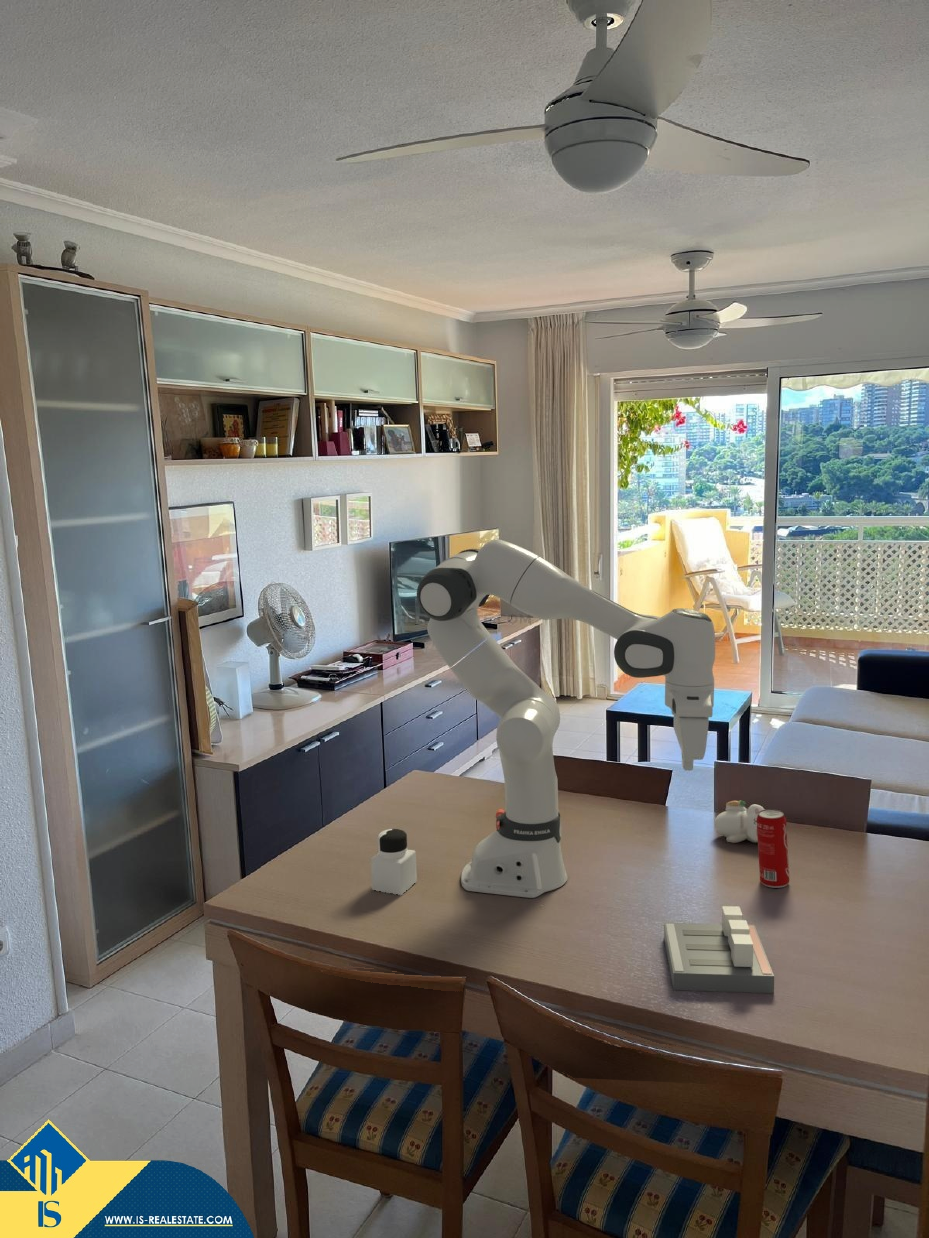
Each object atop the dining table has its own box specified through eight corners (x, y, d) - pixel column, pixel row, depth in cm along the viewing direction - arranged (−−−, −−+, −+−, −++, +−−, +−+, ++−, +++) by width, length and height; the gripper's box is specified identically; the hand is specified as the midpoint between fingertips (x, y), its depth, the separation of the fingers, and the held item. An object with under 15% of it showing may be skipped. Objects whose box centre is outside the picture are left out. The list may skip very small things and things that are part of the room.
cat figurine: (710, 798, 210) (778, 797, 204) (717, 805, 217) (783, 805, 211) (711, 840, 207) (780, 841, 200) (718, 846, 213) (785, 847, 207)
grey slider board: (673, 989, 150) (673, 972, 150) (664, 937, 167) (663, 922, 166) (774, 993, 148) (774, 975, 148) (754, 940, 165) (754, 924, 164)
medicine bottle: (417, 881, 194) (415, 828, 192) (401, 896, 188) (398, 840, 186) (388, 876, 197) (385, 823, 195) (371, 890, 191) (368, 836, 189)
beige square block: (731, 950, 155) (731, 928, 154) (728, 941, 158) (728, 919, 158) (749, 951, 155) (749, 929, 154) (745, 941, 158) (746, 920, 157)
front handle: (734, 966, 150) (734, 943, 150) (731, 956, 153) (731, 933, 153) (752, 966, 150) (753, 944, 149) (749, 956, 153) (749, 934, 152)
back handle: (724, 935, 160) (724, 914, 159) (721, 927, 163) (722, 906, 163) (742, 936, 160) (742, 915, 159) (739, 927, 163) (739, 906, 162)
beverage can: (791, 889, 184) (792, 819, 181) (757, 888, 185) (758, 817, 183) (787, 877, 189) (788, 808, 187) (754, 875, 191) (755, 807, 188)
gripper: (667, 683, 180) (665, 750, 182) (677, 710, 160) (675, 785, 162) (699, 683, 179) (697, 751, 181) (714, 710, 159) (711, 786, 161)
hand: (687, 767), depth 171 cm, fingers closed
